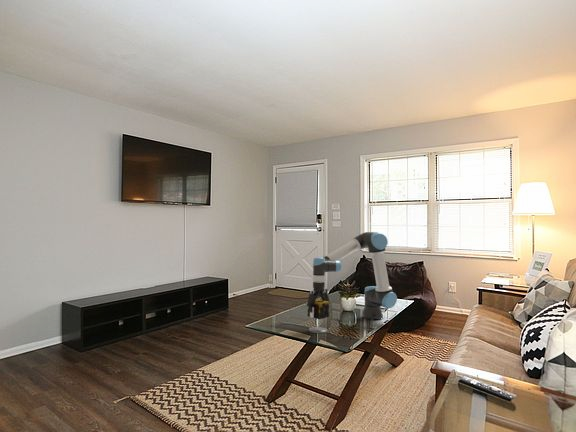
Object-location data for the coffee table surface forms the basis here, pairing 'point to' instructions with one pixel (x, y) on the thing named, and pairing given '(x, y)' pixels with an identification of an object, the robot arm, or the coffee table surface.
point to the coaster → (318, 330)
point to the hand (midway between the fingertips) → (318, 316)
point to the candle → (320, 309)
